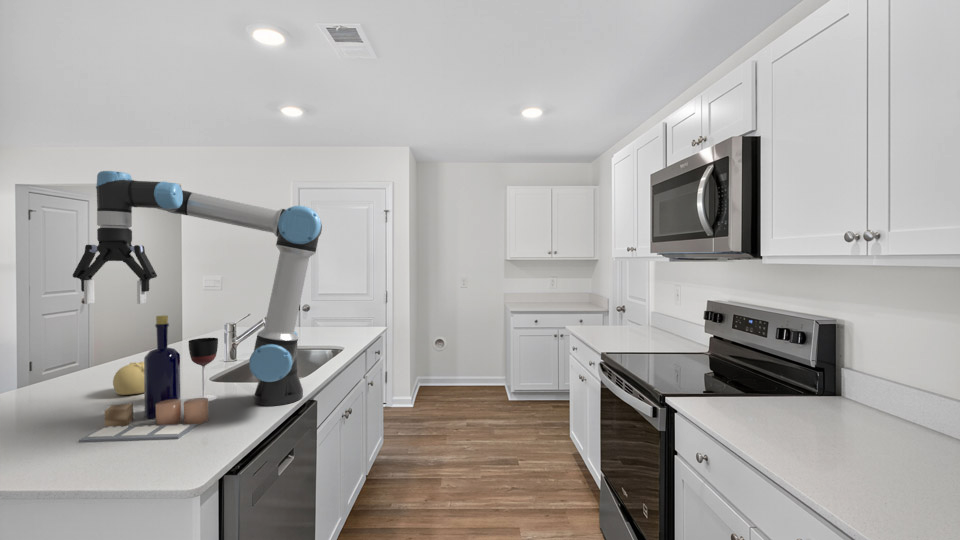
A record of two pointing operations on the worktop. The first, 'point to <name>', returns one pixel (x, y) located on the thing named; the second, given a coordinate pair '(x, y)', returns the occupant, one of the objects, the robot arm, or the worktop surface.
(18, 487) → the worktop surface
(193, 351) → the wineglass
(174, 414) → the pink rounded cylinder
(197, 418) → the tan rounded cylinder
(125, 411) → the oak box
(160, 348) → the bottle
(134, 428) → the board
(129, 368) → the yellow rounded lump
